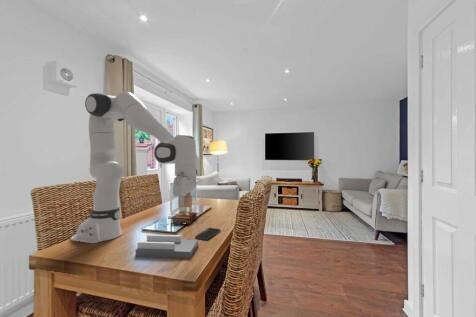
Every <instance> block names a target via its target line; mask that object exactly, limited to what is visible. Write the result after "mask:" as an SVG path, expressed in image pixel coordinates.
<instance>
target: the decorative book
mask: <svg viewBox="0 0 476 317" xmlns="http://www.w3.org/2000/svg"><path fill="white" fill-rule="evenodd" d="M197 215H198V212H197V211H187V212H186V210H185V211H184V210H183V211H182V210H181V211H179V212H178V213H175V215H173V216H172V217H170V218H171V219H172V222H171V223H170V224H171V225H172V224H175V225H176V224H177V225H183V223H186V224H187V226H188V225H191V224H192V223H193V222H194V221H196V219H197V218H198V216H197Z"/></svg>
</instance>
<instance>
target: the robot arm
mask: <svg viewBox="0 0 476 317" xmlns="http://www.w3.org/2000/svg"><path fill="white" fill-rule="evenodd" d="M84 107H85V109H86V111H87V113H89V119H88V135H89V136H88V137H89V146H90V155H89V156H90V158H89V174H90V176H91V178H92V179H93V180H96V183H95V189H94V192H93V198H92V199H93V200H92V201H93V203H92V204H93V207H92V210H90V211H88V212H87V213H88V215H89V218H87V219H86V220H84V221H83V222H82V223H80V224H79V225H78V227H77V229H76V233H75V234H74V235H72V237H70V241H72V242H73V241H74V242H79V241H80V242H81V243H88V244H96V243H99V242H103V241H104V242H105V241H110V240H113V239H116V238H119V237H121V236H122V234H123V230H122V227H121V223H120V215H121V214H120V213H121V212H120V211H121V210H120V206H119V205H120V204H119V202H120V200H119V199H120V198H119V197H120V195H119V194H120V187H121V182H122V178H123V176H124V174H125V170H124V167H123V166H122V165H121V163H118V162H117V161H115V156H116V155H115V154H116V150H117V144H116V142H117V140H116V132H115V123H116V122H117V121H118V122H123V121H125V122H126V123H127V124H128V125H129V126H130V127H132V129H134V130H137V131H139V132H142V133H145V134H148V135H150V136H152V137H154V138H155V139H157V141H159V143H157V145H156V146H155V148H154V149H153V150H154V151H153V152H154V153H153V154H154V158H155V159H156V160H155V161H156V162H158V163H160V164H164V165H166V164H168V165H172V164H174V176H175V177H174V178H173V184H172V186H173V187H172V195H173V197H176V198H177V197H178V201H179V200H180V205H181V206H183V205H185V200H184V197H185V196H192V195H191V194H192V192H193V191H194V190H196V184H197V175H198V169H197V164H196V156H197V146H196V139H195V137H193V136H191V135H188V134H182V133H179V134H176V135H175V136H173V135H172V134H171V133H170V132H169V131H168V130H167V128H165V127H164V125H162V124H161V123H160V122H159V120H158V119H157V118H156V117H155V116H154V115H153V114H152V112H150V110H149V109H148V108H147V106H146V105H145V104H144V103H143V102H142V101H141V100H140V99H139V97H137V96H136V95H134V94H133V93H131V92H129V91H122V92H118V94H116V95H110V94H103V93H100V92H99V93H97V92H94V93H89V94H88V96H87V97H86V98H85V101H84ZM80 242H79V243H80Z"/></svg>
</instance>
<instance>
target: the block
mask: <svg viewBox="0 0 476 317" xmlns="http://www.w3.org/2000/svg"><path fill="white" fill-rule="evenodd" d="M184 200H185V205H183V206H181V205H180V200H179V199H178V208H191V207H192V205H193V195H191V196H186V195H185V197H184Z"/></svg>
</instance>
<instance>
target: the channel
mask: <svg viewBox="0 0 476 317" xmlns="http://www.w3.org/2000/svg"><path fill="white" fill-rule="evenodd" d="M136 244H137V248H136V249H135V257H149V258H150V257H152V258H156V257H158V258H178V259H179V258H181V259H182V258H183V259H186V258H187V259H190V258H192V256H193V254H194V253H195V251H196V249H197V248H198V246H199V239H182V235H180V234H179V235H177V234H176V235H175V234H147V235H146V241H141V240H139V241H137V243H136Z"/></svg>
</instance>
